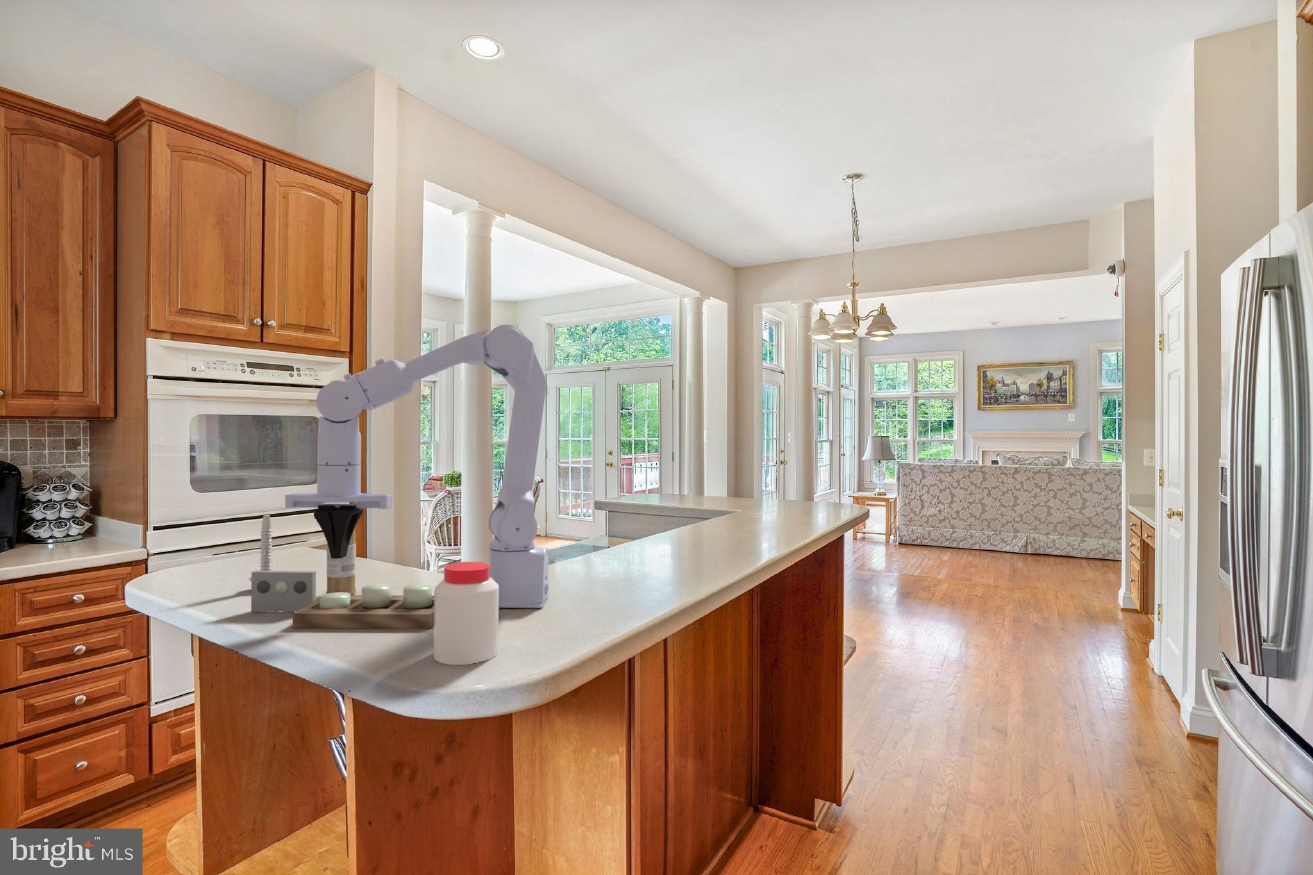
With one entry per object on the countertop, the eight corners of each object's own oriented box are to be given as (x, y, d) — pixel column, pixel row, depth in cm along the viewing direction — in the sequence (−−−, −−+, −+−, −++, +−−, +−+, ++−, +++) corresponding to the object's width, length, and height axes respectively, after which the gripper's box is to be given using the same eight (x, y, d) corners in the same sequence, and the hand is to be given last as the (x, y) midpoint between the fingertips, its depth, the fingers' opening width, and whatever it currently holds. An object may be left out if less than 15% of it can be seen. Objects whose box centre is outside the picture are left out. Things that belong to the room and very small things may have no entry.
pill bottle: (436, 668, 75) (437, 575, 75) (430, 647, 82) (432, 562, 82) (503, 660, 78) (504, 570, 78) (492, 640, 85) (493, 558, 85)
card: (315, 610, 98) (315, 571, 97) (311, 612, 96) (312, 572, 96) (255, 610, 97) (255, 570, 97) (250, 612, 96) (250, 572, 96)
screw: (266, 585, 113) (288, 587, 111) (241, 591, 108) (264, 594, 107) (267, 510, 112) (289, 512, 111) (242, 514, 108) (265, 515, 106)
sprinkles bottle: (351, 589, 110) (352, 511, 110) (359, 595, 107) (360, 514, 107) (322, 593, 107) (323, 513, 107) (329, 599, 104) (329, 516, 104)
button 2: (435, 600, 97) (435, 584, 97) (427, 608, 93) (427, 590, 93) (408, 600, 97) (409, 584, 96) (399, 608, 93) (399, 590, 92)
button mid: (395, 600, 96) (395, 584, 96) (385, 607, 92) (385, 590, 92) (368, 600, 96) (368, 583, 96) (356, 607, 92) (356, 590, 92)
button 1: (354, 608, 96) (354, 592, 96) (342, 616, 92) (342, 599, 92) (327, 608, 96) (327, 592, 96) (314, 616, 92) (314, 599, 92)
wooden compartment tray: (451, 608, 100) (451, 595, 100) (430, 628, 90) (431, 614, 90) (326, 607, 99) (327, 594, 99) (292, 627, 89) (292, 613, 89)
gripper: (273, 465, 90) (272, 562, 90) (378, 466, 90) (377, 563, 90) (299, 462, 97) (299, 552, 97) (397, 464, 97) (396, 553, 97)
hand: (338, 557), depth 94 cm, fingers closed
